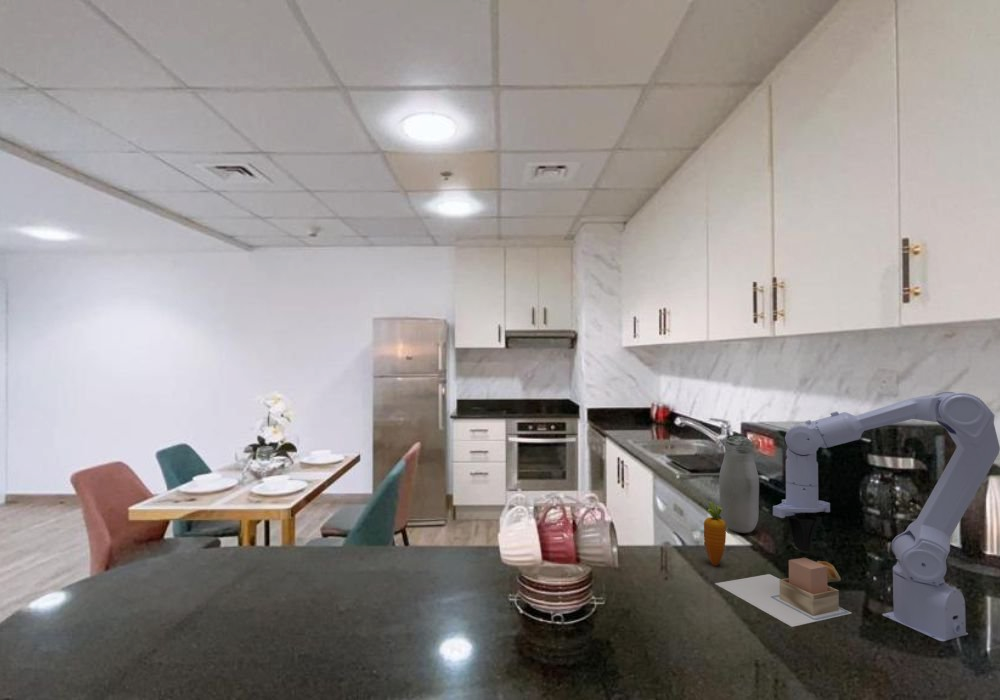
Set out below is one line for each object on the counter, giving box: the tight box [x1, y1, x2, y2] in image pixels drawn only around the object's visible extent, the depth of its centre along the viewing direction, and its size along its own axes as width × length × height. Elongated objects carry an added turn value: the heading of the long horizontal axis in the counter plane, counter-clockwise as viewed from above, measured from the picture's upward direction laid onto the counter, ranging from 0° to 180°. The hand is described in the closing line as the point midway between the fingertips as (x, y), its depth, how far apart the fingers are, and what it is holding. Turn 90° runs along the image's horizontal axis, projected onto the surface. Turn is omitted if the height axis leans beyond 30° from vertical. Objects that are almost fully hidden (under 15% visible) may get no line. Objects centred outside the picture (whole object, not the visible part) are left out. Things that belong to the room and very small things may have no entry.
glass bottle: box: [718, 435, 760, 534], centre depth 138 cm, size 10×10×28 cm
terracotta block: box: [788, 557, 828, 595], centre depth 93 cm, size 5×5×5 cm
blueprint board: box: [714, 573, 852, 628], centre depth 95 cm, size 18×16×1 cm
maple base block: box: [780, 577, 840, 616], centre depth 92 cm, size 7×7×4 cm
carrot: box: [703, 501, 727, 567], centre depth 111 cm, size 5×5×15 cm
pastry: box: [816, 560, 841, 584], centre depth 105 cm, size 9×7×4 cm
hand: (802, 549), depth 97 cm, fingers closed
